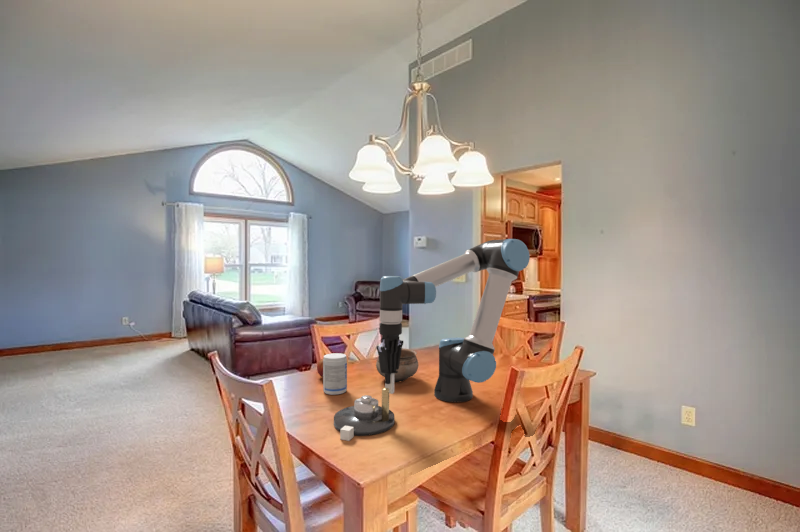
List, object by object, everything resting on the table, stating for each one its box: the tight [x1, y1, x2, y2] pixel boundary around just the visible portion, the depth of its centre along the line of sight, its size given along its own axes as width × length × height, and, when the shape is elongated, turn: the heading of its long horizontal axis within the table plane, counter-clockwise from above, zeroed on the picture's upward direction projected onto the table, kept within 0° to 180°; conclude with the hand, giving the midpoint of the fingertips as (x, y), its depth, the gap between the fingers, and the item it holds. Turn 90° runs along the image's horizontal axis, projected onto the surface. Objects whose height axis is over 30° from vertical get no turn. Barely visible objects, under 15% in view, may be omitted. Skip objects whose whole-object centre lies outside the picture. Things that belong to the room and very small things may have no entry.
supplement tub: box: [322, 352, 348, 396], centre depth 162 cm, size 10×10×15 cm
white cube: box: [339, 426, 355, 442], centre depth 121 cm, size 3×3×3 cm
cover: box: [353, 395, 379, 420], centre depth 133 cm, size 8×8×6 cm
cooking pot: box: [375, 347, 419, 383], centre depth 178 cm, size 25×19×12 cm
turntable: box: [333, 387, 395, 437], centre depth 132 cm, size 20×20×12 cm
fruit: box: [316, 357, 324, 378], centre depth 180 cm, size 11×10×10 cm
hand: (389, 392), depth 133 cm, fingers closed
